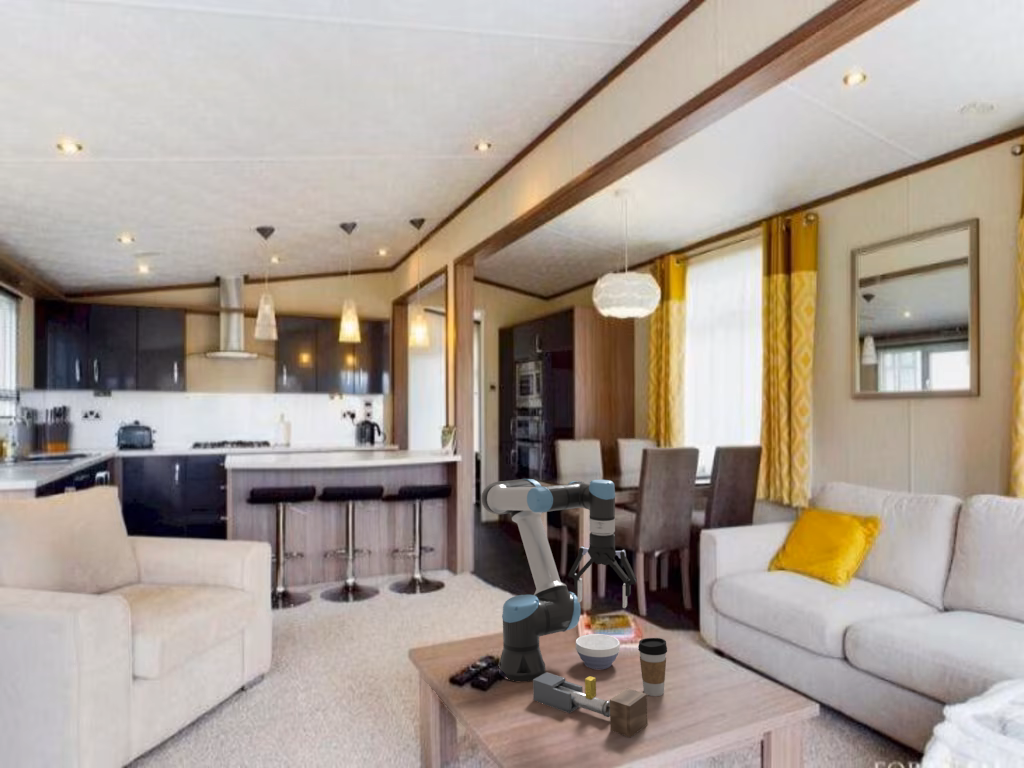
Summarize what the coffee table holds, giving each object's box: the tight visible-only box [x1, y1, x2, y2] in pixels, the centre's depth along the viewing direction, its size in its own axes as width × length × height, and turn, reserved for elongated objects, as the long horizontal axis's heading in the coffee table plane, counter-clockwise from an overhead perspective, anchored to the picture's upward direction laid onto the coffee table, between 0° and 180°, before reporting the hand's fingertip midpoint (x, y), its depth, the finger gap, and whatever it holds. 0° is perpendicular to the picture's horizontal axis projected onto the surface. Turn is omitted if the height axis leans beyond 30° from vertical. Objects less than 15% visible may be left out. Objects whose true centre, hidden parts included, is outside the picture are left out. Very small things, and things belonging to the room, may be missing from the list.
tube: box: [554, 675, 610, 718], centre depth 186 cm, size 22×4×9 cm, turn 50°
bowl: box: [575, 633, 621, 671], centre depth 217 cm, size 14×14×8 cm
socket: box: [609, 687, 648, 738], centre depth 175 cm, size 6×9×8 cm, turn 140°
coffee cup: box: [637, 637, 668, 697], centre depth 196 cm, size 8×8×15 cm
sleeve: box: [532, 671, 583, 714], centre depth 190 cm, size 13×7×6 cm, turn 50°
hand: (602, 603), depth 196 cm, fingers open, 13 cm apart
